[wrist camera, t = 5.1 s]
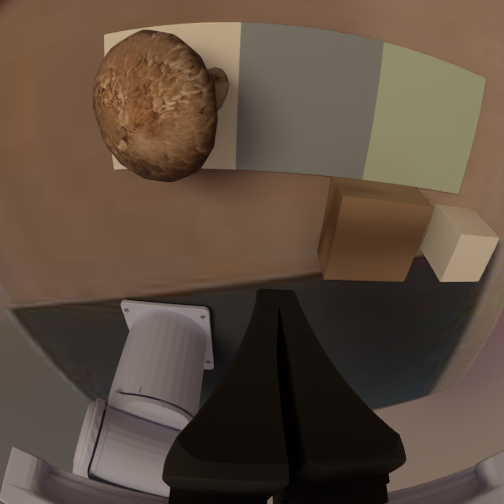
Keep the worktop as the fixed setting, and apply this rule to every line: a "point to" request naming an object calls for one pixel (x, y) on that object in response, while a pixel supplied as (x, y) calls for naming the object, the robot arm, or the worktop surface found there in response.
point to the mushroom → (158, 105)
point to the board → (334, 104)
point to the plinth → (371, 230)
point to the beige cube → (458, 244)
